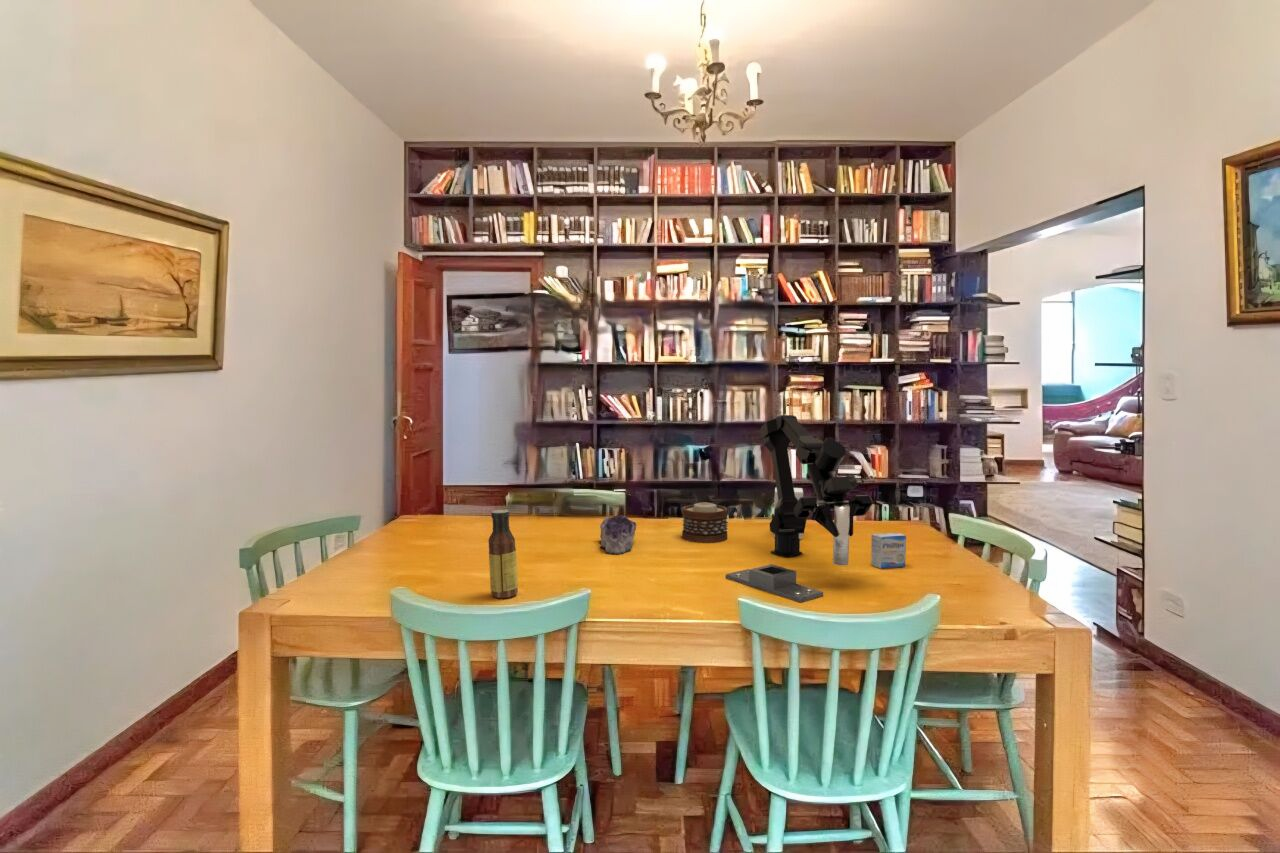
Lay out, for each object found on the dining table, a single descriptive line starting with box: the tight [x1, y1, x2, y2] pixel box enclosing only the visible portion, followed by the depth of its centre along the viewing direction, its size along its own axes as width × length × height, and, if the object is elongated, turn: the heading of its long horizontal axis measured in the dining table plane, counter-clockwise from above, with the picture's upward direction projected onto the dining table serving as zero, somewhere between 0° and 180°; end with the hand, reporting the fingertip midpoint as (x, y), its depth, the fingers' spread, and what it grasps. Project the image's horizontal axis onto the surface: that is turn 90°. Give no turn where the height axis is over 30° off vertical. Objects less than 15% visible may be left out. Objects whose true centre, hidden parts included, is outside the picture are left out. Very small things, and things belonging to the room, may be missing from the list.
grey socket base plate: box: [725, 564, 824, 603], centre depth 171 cm, size 24×8×4 cm, turn 37°
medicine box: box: [870, 532, 907, 570], centre depth 189 cm, size 8×4×9 cm, turn 105°
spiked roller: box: [681, 501, 730, 544], centre depth 222 cm, size 15×11×15 cm
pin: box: [832, 505, 850, 566], centre depth 170 cm, size 4×4×14 cm
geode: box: [599, 514, 637, 556], centre depth 210 cm, size 20×12×10 cm, turn 2°
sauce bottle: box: [488, 509, 519, 599], centre depth 163 cm, size 7×6×20 cm
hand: (844, 535), depth 168 cm, fingers closed on pin, 4 cm apart
